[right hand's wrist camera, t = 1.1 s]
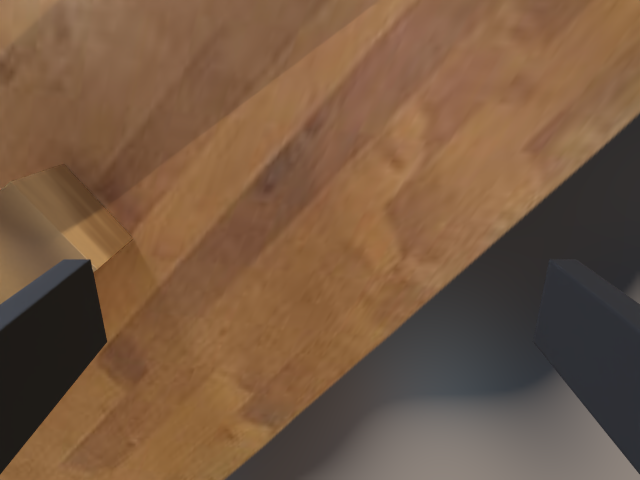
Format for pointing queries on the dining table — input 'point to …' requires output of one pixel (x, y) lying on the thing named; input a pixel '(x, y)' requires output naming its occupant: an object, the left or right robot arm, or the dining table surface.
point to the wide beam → (52, 227)
